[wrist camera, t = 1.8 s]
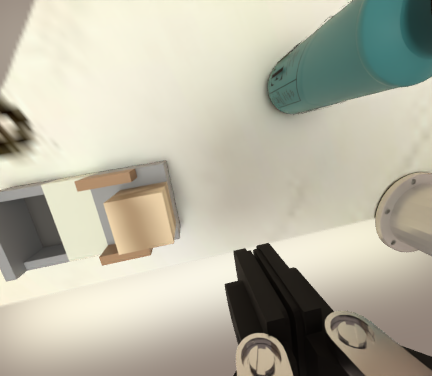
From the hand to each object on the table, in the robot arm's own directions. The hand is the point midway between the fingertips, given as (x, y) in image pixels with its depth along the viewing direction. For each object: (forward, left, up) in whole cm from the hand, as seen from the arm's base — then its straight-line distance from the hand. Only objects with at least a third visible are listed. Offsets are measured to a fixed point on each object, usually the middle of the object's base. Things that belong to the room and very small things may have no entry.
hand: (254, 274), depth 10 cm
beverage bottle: (-8, -13, -19) cm, 24 cm away
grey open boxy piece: (+13, +4, -19) cm, 23 cm away
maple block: (+7, +2, -15) cm, 17 cm away
